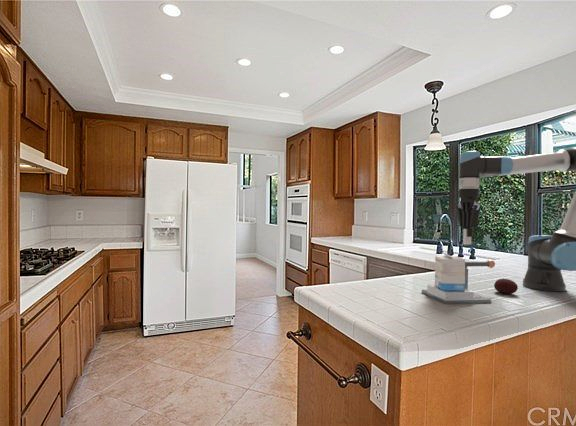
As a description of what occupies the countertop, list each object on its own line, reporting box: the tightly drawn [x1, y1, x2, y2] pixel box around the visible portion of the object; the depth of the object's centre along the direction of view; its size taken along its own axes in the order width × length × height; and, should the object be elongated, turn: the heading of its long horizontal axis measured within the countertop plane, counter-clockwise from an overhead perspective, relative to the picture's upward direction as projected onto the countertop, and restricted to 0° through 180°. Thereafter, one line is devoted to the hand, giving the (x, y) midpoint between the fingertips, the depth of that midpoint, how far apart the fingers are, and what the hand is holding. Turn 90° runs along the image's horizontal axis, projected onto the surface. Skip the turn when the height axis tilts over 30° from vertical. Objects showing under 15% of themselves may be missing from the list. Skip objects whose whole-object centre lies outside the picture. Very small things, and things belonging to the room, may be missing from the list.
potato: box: [493, 278, 519, 295], centre depth 136 cm, size 7×8×6 cm
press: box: [421, 267, 492, 305], centre depth 128 cm, size 18×16×10 cm
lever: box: [465, 259, 496, 269], centre depth 135 cm, size 16×4×3 cm, turn 98°
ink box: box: [434, 251, 466, 291], centre depth 126 cm, size 9×8×13 cm
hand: (467, 244), depth 141 cm, fingers closed
